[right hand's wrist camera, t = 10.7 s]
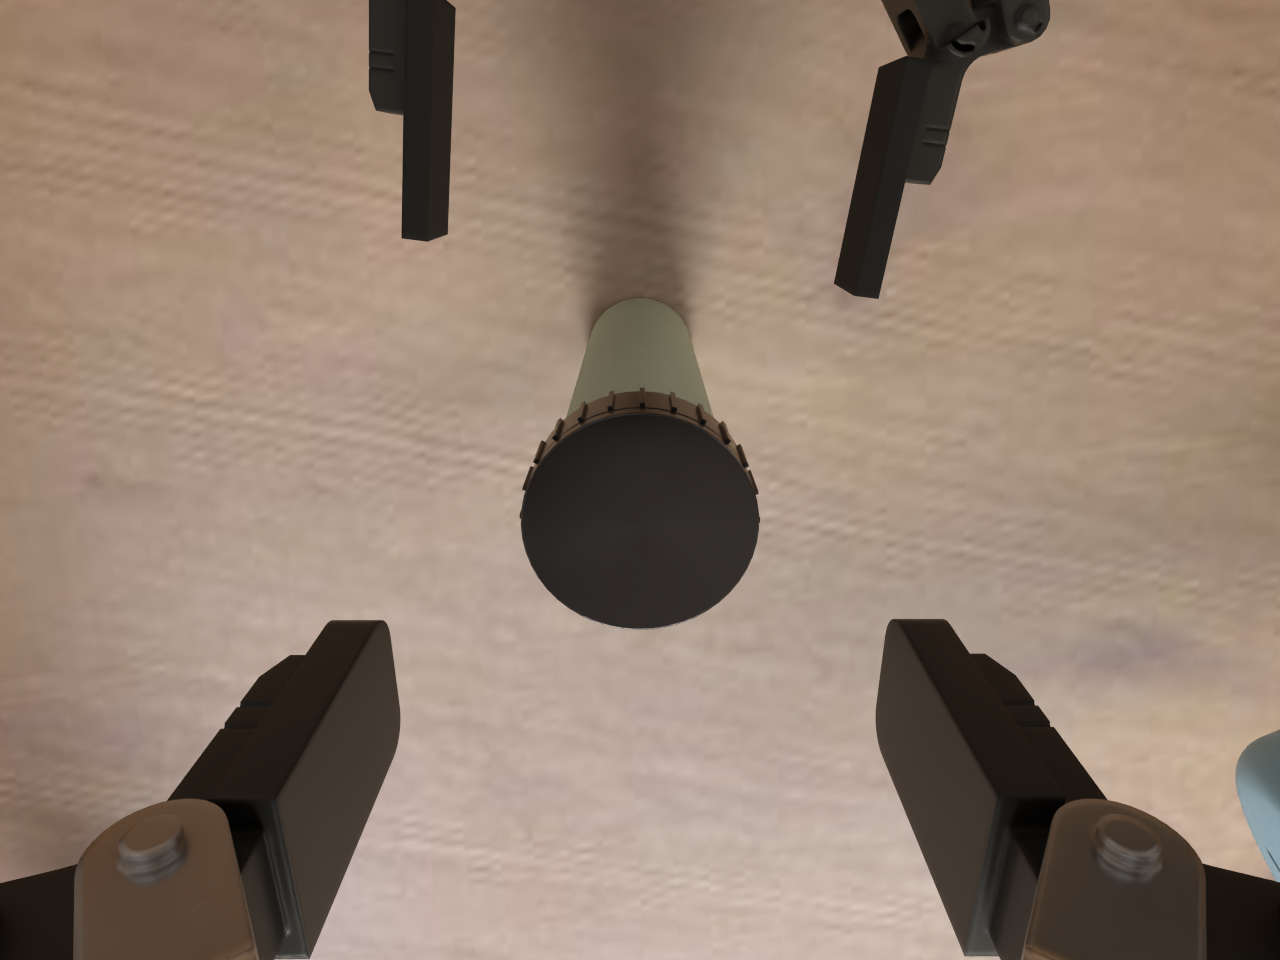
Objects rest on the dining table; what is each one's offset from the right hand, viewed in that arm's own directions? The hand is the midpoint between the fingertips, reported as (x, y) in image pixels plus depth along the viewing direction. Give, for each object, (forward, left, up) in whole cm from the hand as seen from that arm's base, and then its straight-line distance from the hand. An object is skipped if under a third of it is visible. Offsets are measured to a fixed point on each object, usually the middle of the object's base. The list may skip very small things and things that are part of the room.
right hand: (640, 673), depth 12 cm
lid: (0, 0, -5) cm, 5 cm away
